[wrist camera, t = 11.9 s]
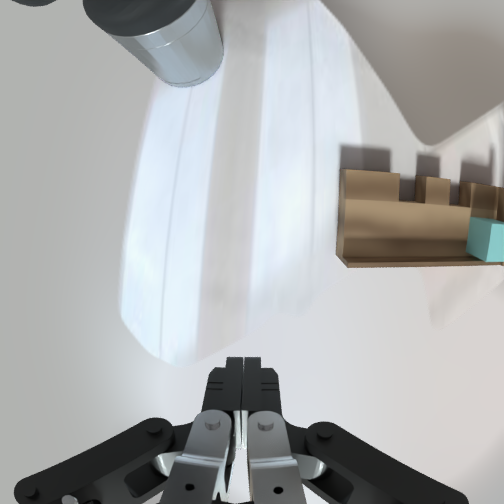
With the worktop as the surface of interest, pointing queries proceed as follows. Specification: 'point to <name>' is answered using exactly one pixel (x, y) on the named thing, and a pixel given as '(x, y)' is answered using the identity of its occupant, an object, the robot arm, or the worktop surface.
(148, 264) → the worktop surface
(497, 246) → the teal block
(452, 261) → the walnut tray
